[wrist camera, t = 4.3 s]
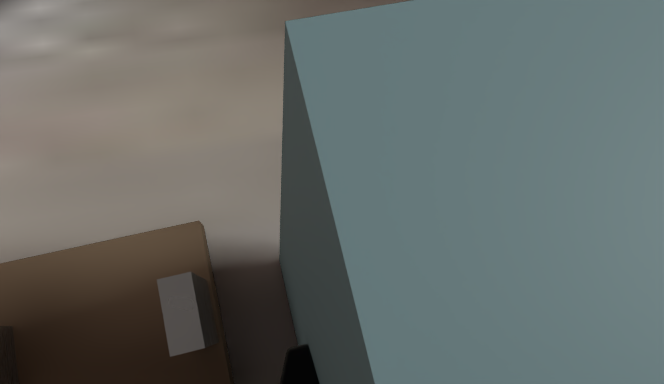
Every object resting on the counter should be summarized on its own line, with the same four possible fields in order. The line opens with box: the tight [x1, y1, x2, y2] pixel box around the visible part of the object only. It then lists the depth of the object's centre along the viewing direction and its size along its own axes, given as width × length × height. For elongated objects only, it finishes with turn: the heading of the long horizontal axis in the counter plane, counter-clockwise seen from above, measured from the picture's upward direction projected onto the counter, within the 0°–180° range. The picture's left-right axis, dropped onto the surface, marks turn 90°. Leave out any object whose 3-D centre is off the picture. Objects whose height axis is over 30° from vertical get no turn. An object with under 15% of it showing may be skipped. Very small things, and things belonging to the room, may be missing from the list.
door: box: [279, 0, 664, 384], centre depth 10 cm, size 6×3×14 cm, turn 14°
